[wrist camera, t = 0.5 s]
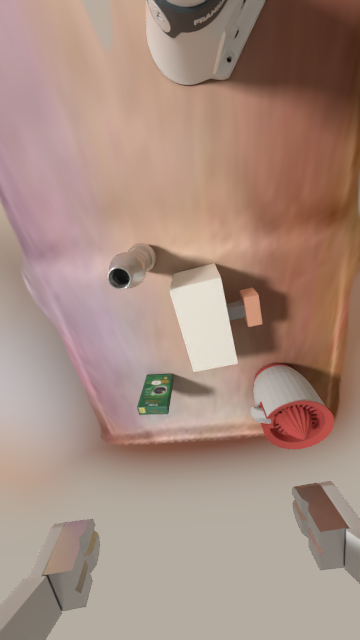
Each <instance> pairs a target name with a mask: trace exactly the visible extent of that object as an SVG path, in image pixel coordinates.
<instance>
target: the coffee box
mask: <svg viewBox="0 0 360 640" xmlns="http://www.w3.org/2000/svg"><path fill="white" fill-rule="evenodd" d="M172 385H173V376H172V374H157V375H147V377H146V380H145V383H144V387H143V390H142V393H141V396H140V399H139V403H138V406H137V409H138V412H139V415H145V414H168V412H169V406H170V399H171V392H172Z"/></svg>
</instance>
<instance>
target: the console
mask: <svg viewBox="0 0 360 640" xmlns="http://www.w3.org/2000/svg"><path fill="white" fill-rule="evenodd" d="M169 291H170V294H171V298H172V301H173V304H174V308H175V311H176V314H177V318H178V321H179V325H180V328H181V331H182V335H183V338H184V341H185V345H186V348H187V351H188V355H189V358H190V361H191V365H192V368H193V371H194V372H196V371H201V370H206V369H212V368H217V367H223V366H228V365H233V364H238V362H237V357H236V352H235V347H234V342H233V337H232V331H231V326H230V321H229V316H228V311H227V306H226V301H225V296H224V291H223V286H222V281H221V276H220V274H219V272H218V270H217V268H216V265H215V263H213V264H209V265H205V266H201V267H197V268H193V269H190V270H186V271H182V272H178V273H174V275H173V278H172V282H171V285H170V289H169Z"/></svg>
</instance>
